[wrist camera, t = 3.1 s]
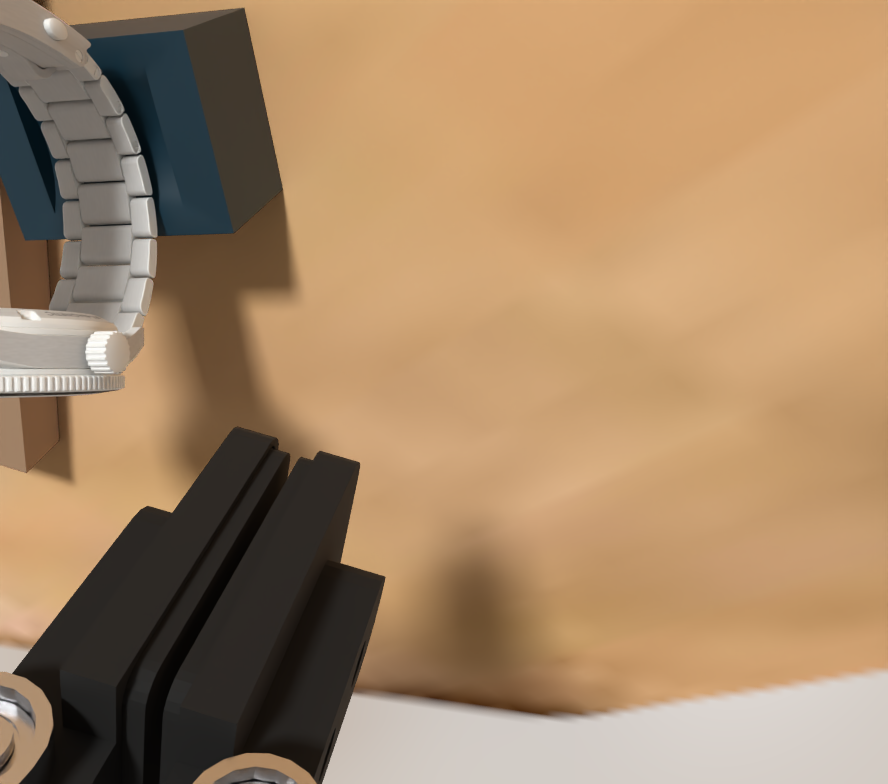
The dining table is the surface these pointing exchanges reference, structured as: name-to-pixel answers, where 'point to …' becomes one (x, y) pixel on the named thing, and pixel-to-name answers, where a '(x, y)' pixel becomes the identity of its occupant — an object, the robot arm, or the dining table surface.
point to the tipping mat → (24, 287)
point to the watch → (119, 172)
